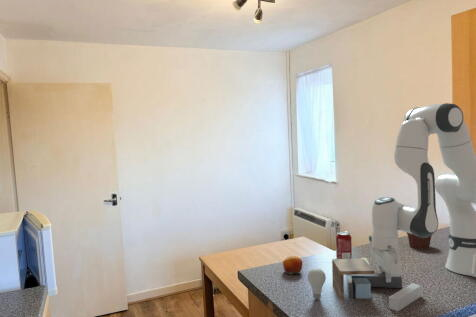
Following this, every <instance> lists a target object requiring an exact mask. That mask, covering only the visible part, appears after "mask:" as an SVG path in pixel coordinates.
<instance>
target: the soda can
mask: <svg viewBox="0 0 476 317" xmlns="http://www.w3.org/2000/svg"><path fill="white" fill-rule="evenodd" d="M336 233H337V234H336V236H335V246H336V247H335V258H336V259H353V257H352V255H353V253H352V252H353V251H352V250H353V249H352V236H351V233H350V232H349V231H345V230H341V231H337V232H336Z"/></svg>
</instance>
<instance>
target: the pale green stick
mask: <svg viewBox="0 0 476 317" xmlns="http://www.w3.org/2000/svg"><path fill="white" fill-rule="evenodd" d="M359 259H364V260H365V261H366V262H367V263H368V264H369V265H370V262H369V260H368V258H367V257H360V258H359ZM370 266H371V265H370Z"/></svg>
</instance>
